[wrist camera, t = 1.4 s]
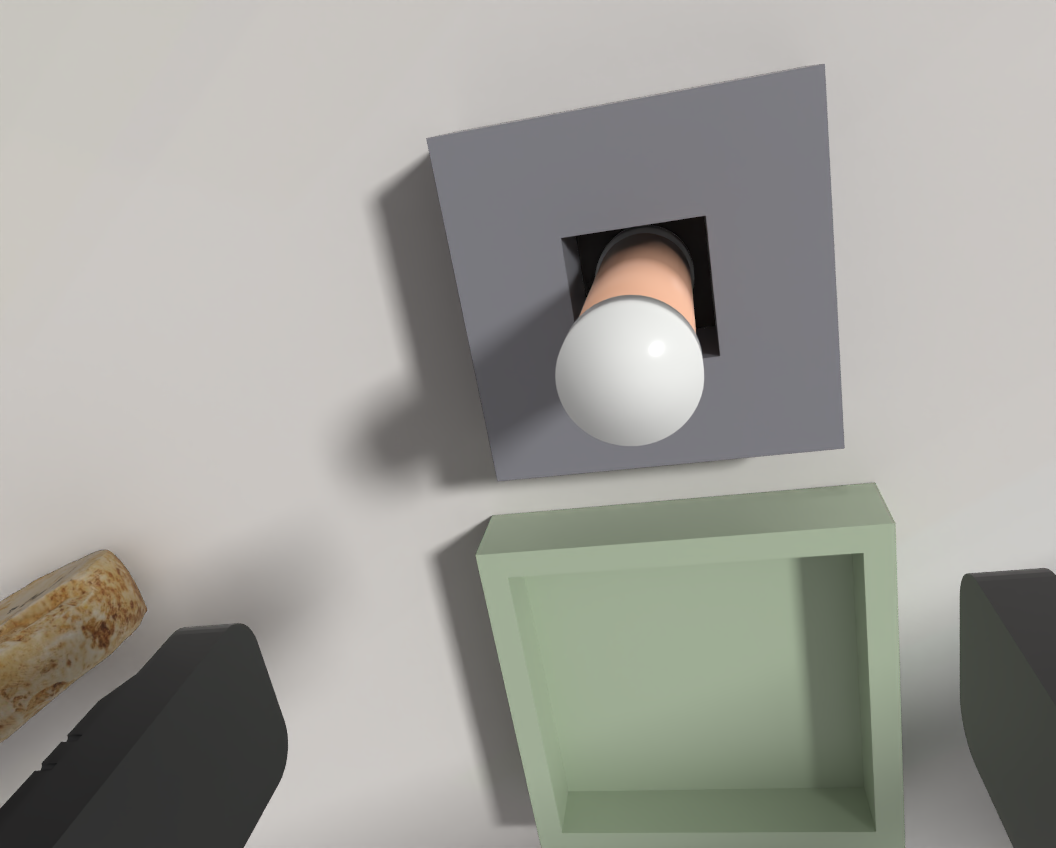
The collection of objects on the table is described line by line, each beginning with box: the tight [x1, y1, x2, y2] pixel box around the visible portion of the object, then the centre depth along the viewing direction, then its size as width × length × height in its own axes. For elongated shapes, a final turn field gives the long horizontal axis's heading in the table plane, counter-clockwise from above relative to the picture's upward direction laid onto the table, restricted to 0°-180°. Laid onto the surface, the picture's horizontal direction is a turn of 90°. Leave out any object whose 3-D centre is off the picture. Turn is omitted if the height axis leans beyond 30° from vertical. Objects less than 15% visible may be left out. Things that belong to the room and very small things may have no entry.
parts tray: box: [475, 483, 905, 848], centre depth 32 cm, size 14×14×3 cm
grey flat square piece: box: [426, 64, 844, 481], centre depth 27 cm, size 11×11×4 cm
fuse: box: [555, 225, 704, 446], centre depth 23 cm, size 3×3×11 cm
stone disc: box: [0, 550, 147, 743], centre depth 33 cm, size 10×4×10 cm, turn 117°
